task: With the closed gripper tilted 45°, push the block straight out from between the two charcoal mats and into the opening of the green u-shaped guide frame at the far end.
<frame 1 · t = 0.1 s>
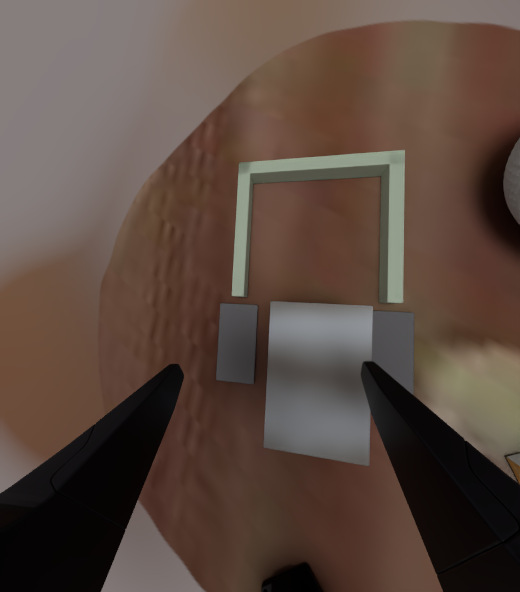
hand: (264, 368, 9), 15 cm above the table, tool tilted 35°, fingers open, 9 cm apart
green u-shaped guide frame: (311, 239, 24), on the table
block: (307, 352, 23), on the table
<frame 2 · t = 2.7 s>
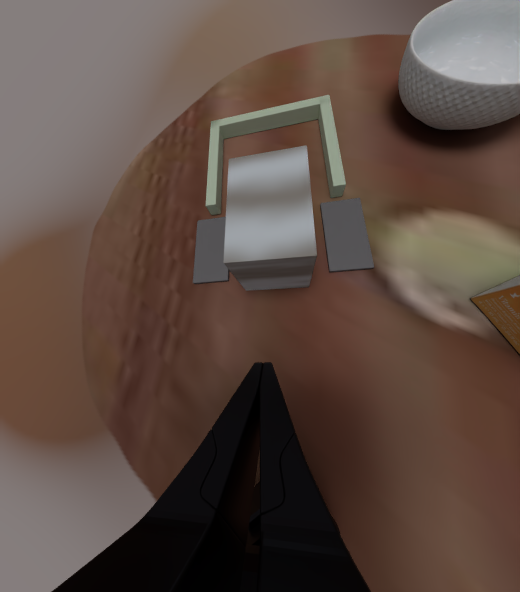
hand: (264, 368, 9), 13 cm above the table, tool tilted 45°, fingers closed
green u-shaped guide frame: (271, 165, 29), on the table
block: (275, 247, 26), on the table
cereal bowl: (447, 111, 27), on the table
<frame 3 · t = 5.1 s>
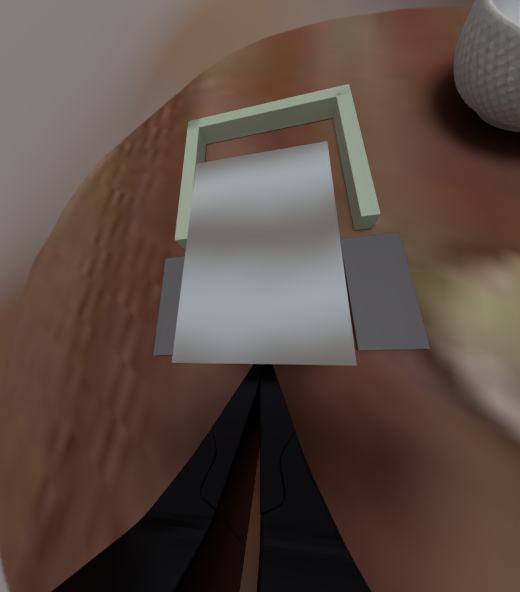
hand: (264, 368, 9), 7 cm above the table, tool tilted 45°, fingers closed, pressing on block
green u-shaped guide frame: (268, 180, 21), on the table
block: (273, 290, 18), on the table, touching gripper
cereal bowl: (518, 105, 19), on the table
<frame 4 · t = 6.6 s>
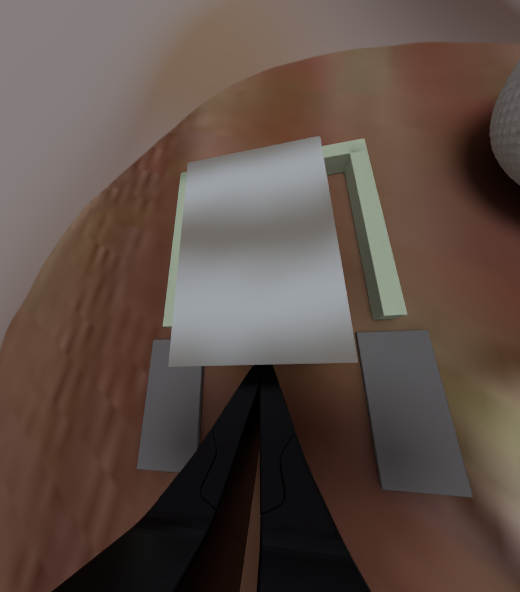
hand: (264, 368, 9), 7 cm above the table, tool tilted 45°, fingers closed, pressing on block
green u-shaped guide frame: (271, 246, 19), on the table
block: (271, 289, 18), on the table, touching gripper
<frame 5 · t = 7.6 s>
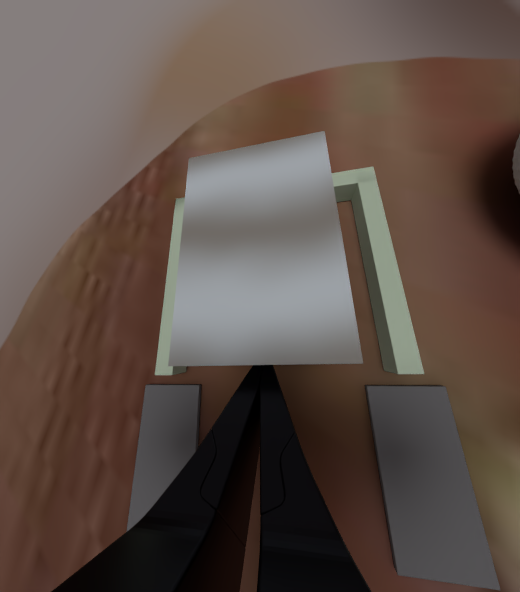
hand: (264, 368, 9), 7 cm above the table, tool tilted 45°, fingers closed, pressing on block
green u-shaped guide frame: (272, 281, 17), on the table
block: (272, 288, 17), on the table, touching gripper
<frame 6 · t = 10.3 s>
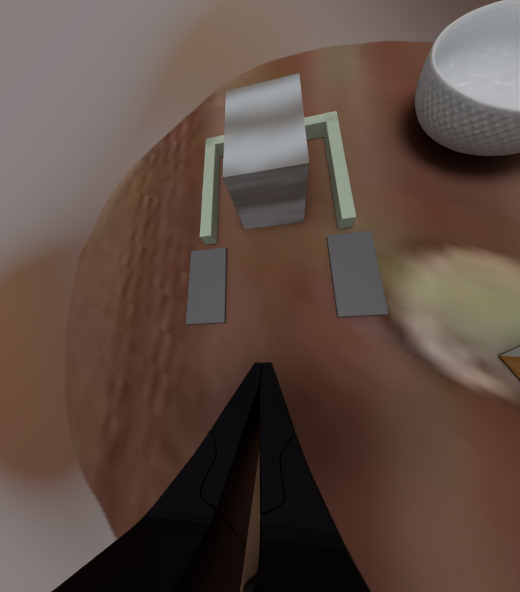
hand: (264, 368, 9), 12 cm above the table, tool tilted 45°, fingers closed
green u-shaped guide frame: (271, 188, 27), on the table
block: (271, 189, 27), on the table
cereal bowl: (467, 130, 24), on the table
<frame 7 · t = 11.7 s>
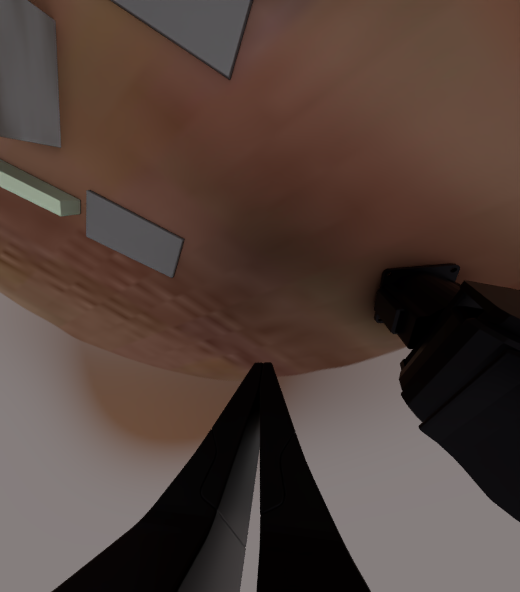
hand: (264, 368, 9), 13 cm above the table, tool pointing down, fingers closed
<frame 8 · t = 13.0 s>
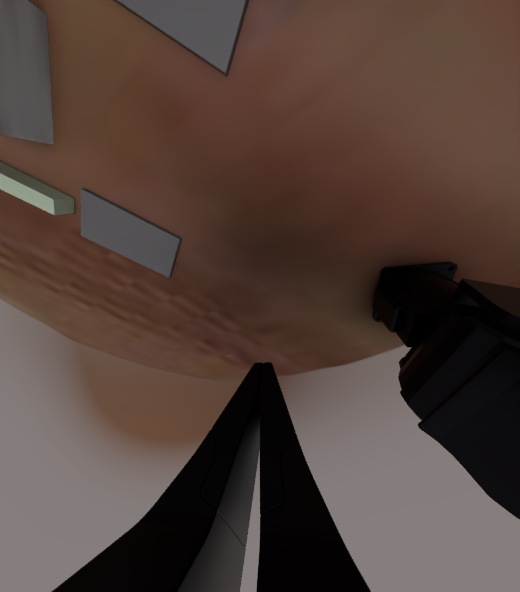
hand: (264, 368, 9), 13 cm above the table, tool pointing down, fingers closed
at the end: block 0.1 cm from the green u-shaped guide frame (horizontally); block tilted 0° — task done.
